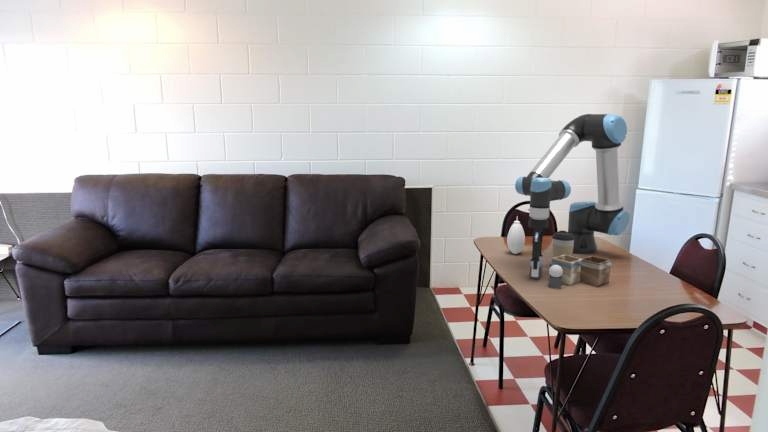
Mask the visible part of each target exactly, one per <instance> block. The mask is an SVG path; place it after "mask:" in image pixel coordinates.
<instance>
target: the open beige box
mask: <svg viewBox="0 0 768 432" xmlns="http://www.w3.org/2000/svg"><path fill="white" fill-rule="evenodd" d="M581 259H582V258H581V257H576V256H573V255H572V256H568V255H561V256H558V257H554V258H553V257H552V259H551V261H550V263H551V266H553V265H559V266H560V267H561V268H562V270H563V274H562V278H561V285H562V284H564V285H566V286H572V285H575V284H577V283H581V282H580V271H581Z"/></svg>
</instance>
